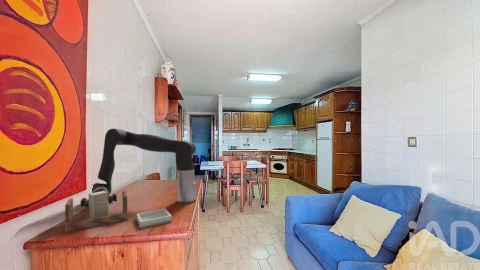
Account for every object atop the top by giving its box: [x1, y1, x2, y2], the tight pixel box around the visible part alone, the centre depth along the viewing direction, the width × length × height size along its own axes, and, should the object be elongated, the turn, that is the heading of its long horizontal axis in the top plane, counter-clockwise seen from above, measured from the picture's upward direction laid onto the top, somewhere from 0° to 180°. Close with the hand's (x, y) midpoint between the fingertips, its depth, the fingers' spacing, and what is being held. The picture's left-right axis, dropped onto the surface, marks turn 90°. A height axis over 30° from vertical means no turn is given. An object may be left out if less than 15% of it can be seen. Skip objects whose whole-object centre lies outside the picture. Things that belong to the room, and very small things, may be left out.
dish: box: [136, 208, 173, 230], centre depth 92 cm, size 12×12×2 cm
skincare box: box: [88, 191, 109, 219], centre depth 94 cm, size 6×4×12 cm
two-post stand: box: [64, 191, 129, 233], centre depth 93 cm, size 21×12×10 cm, turn 122°
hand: (98, 203), depth 97 cm, fingers open, 8 cm apart
